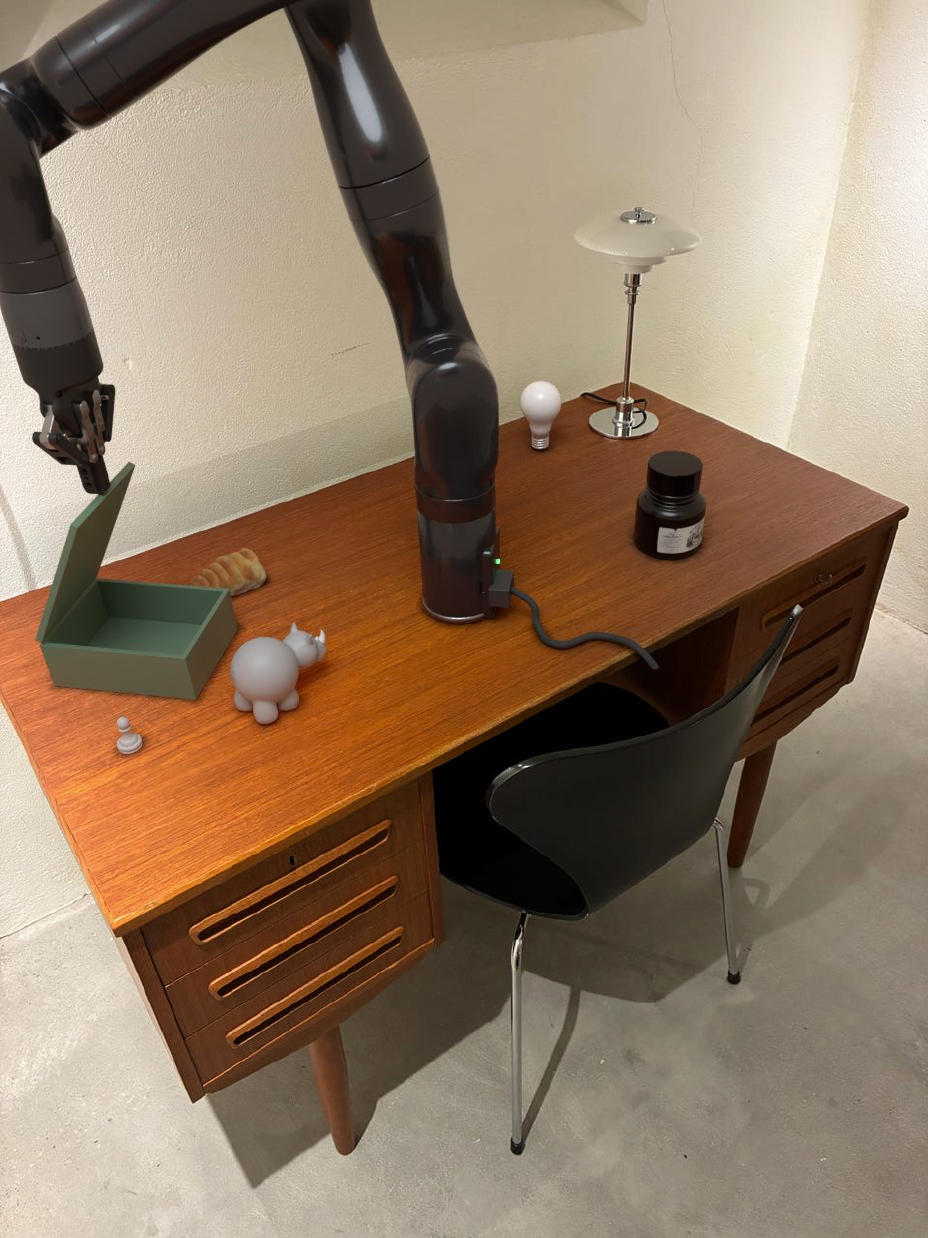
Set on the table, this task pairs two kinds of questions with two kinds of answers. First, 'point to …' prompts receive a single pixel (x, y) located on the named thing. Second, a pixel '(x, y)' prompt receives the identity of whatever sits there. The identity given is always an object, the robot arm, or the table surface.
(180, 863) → the table surface
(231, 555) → the pastry
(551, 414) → the lightbulb
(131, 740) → the pawn
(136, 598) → the chess box
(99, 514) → the box lid
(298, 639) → the toy rhinoceros
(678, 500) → the ink bottle
